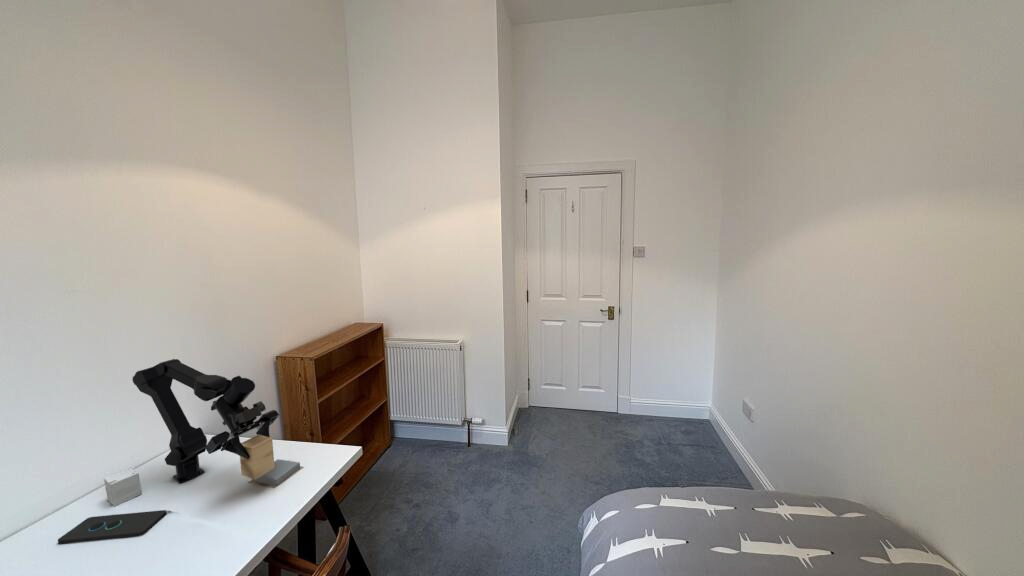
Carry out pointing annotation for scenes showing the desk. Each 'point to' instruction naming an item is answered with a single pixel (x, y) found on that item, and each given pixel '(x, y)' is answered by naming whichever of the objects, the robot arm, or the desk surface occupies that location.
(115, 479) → the skincare box
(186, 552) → the desk surface
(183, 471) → the robot arm
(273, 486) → the walnut base slab
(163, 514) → the smart home device
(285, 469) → the slate top slab
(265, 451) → the honey oak block
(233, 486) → the desk surface
